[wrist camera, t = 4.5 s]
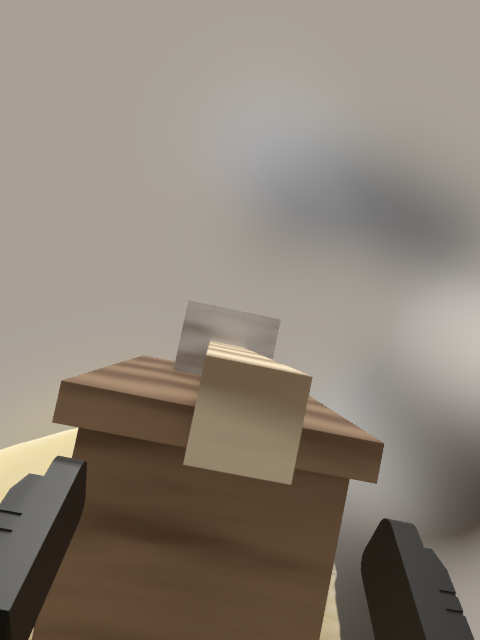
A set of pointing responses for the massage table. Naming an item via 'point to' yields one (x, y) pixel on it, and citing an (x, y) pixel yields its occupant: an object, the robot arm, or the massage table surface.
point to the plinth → (194, 520)
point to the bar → (241, 394)
